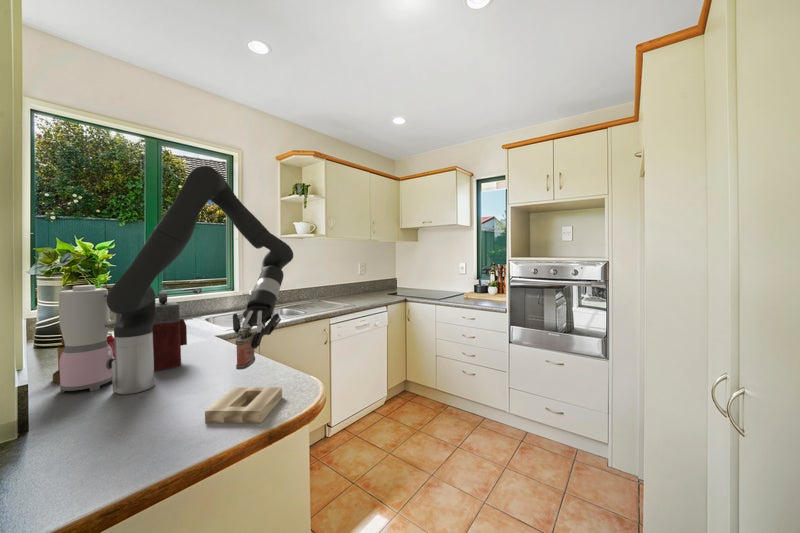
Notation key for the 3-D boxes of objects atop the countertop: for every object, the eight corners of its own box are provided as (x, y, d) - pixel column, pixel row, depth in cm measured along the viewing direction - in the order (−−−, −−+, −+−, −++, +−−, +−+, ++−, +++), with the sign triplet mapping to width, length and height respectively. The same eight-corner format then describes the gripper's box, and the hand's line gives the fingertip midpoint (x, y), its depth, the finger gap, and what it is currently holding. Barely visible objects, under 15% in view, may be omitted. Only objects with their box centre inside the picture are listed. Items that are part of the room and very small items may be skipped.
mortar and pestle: (62, 383, 105) (60, 328, 104) (47, 381, 106) (44, 327, 105) (86, 375, 111) (83, 323, 110) (71, 374, 112) (69, 323, 112)
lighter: (245, 359, 90) (244, 324, 90) (257, 358, 91) (257, 323, 90) (233, 369, 82) (232, 331, 82) (246, 369, 83) (245, 330, 82)
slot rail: (205, 422, 80) (204, 410, 80) (234, 397, 94) (234, 387, 94) (261, 422, 80) (260, 410, 80) (282, 397, 94) (282, 387, 94)
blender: (48, 396, 95) (42, 288, 93) (78, 380, 106) (74, 284, 105) (111, 391, 98) (107, 287, 97) (134, 376, 110) (130, 283, 109)
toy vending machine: (188, 364, 122) (186, 291, 121) (151, 372, 114) (148, 293, 113) (184, 359, 128) (182, 289, 127) (149, 365, 121) (146, 291, 120)
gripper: (237, 288, 96) (214, 340, 84) (284, 288, 96) (268, 340, 84) (246, 303, 101) (226, 353, 90) (290, 303, 101) (276, 353, 90)
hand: (246, 346), depth 87 cm, fingers closed on lighter, 3 cm apart
